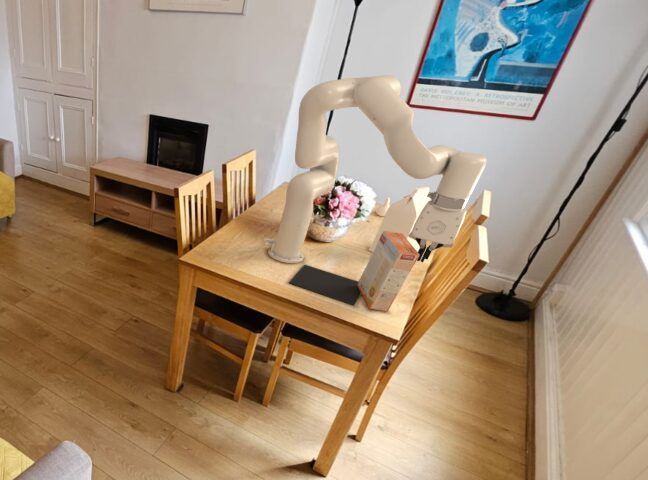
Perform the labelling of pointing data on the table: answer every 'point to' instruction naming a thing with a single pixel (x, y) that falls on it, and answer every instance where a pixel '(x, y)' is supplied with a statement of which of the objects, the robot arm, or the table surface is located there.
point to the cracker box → (387, 270)
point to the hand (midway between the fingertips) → (420, 259)
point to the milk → (403, 216)
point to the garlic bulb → (383, 208)
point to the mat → (327, 284)
